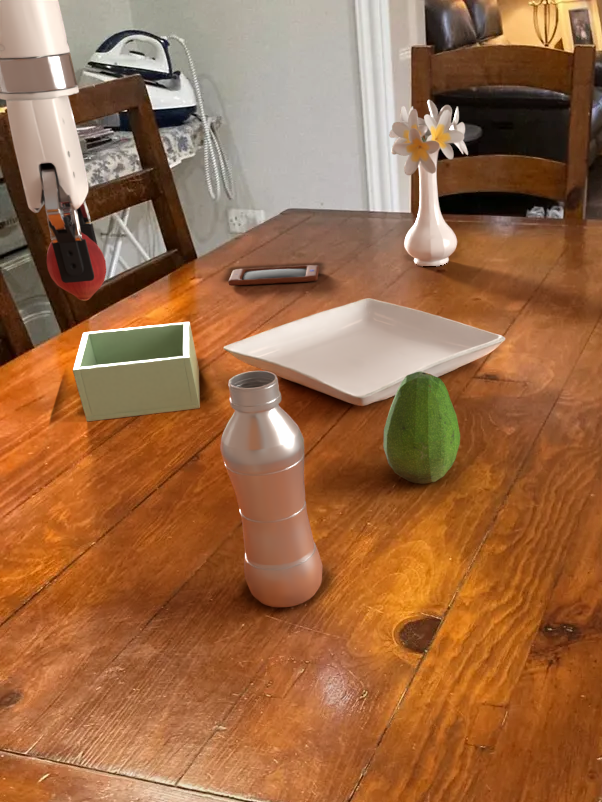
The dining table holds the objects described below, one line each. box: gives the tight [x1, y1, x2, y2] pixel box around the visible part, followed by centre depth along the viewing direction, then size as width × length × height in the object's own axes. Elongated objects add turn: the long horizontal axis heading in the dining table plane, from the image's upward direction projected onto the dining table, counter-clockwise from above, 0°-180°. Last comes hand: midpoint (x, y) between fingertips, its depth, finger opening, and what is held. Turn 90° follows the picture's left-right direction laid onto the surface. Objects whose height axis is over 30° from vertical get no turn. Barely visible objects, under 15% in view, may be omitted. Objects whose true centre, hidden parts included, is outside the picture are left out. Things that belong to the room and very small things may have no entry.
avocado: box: [383, 371, 461, 485], centre depth 96 cm, size 8×8×12 cm
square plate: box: [223, 298, 506, 407], centre depth 125 cm, size 27×27×4 cm
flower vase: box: [388, 99, 469, 267], centre depth 158 cm, size 13×18×25 cm
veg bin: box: [72, 321, 201, 422], centre depth 119 cm, size 14×14×7 cm
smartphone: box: [228, 264, 320, 286], centre depth 160 cm, size 7×1×15 cm
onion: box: [46, 233, 107, 302], centre depth 98 cm, size 6×6×8 cm
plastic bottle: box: [219, 370, 323, 608], centre depth 76 cm, size 6×7×20 cm
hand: (82, 270), depth 98 cm, fingers closed on onion, 5 cm apart
